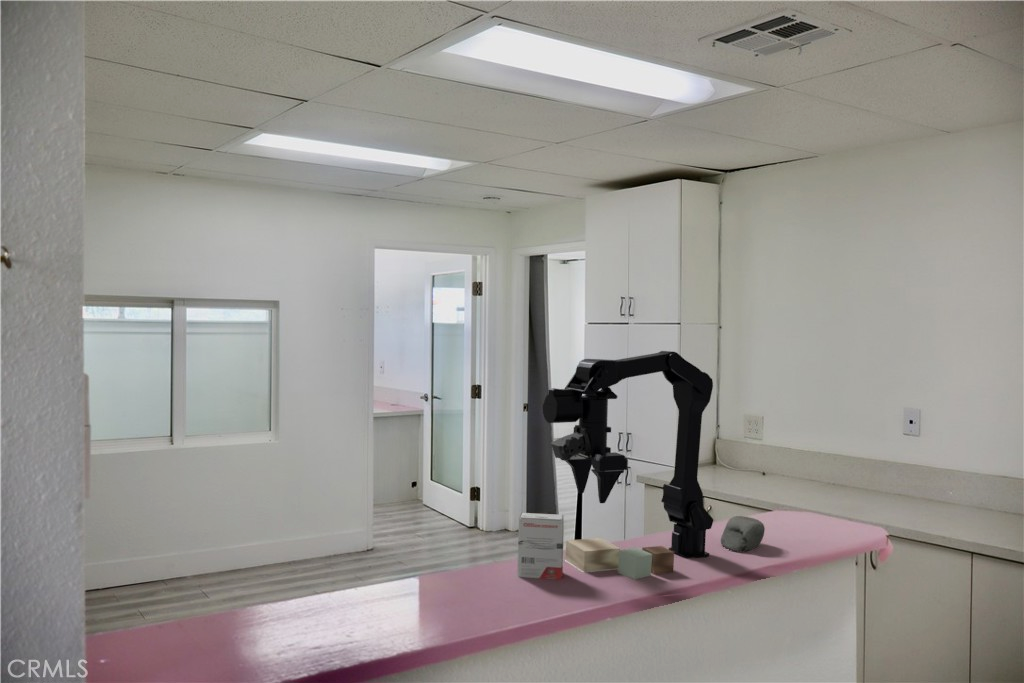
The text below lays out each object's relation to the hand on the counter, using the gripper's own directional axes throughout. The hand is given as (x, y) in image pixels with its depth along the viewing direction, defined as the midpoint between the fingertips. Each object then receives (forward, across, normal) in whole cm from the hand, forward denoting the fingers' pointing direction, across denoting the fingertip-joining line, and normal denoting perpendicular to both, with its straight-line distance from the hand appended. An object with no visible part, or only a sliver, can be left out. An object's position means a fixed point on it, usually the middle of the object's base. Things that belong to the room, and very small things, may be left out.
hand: (591, 498), depth 158 cm
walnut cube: (+14, +7, +11) cm, 19 cm away
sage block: (+14, +8, +5) cm, 17 cm away
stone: (+15, -4, +41) cm, 44 cm away
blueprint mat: (+14, 0, 0) cm, 14 cm away
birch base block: (+13, 0, 0) cm, 13 cm away
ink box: (+14, +4, -13) cm, 19 cm away
